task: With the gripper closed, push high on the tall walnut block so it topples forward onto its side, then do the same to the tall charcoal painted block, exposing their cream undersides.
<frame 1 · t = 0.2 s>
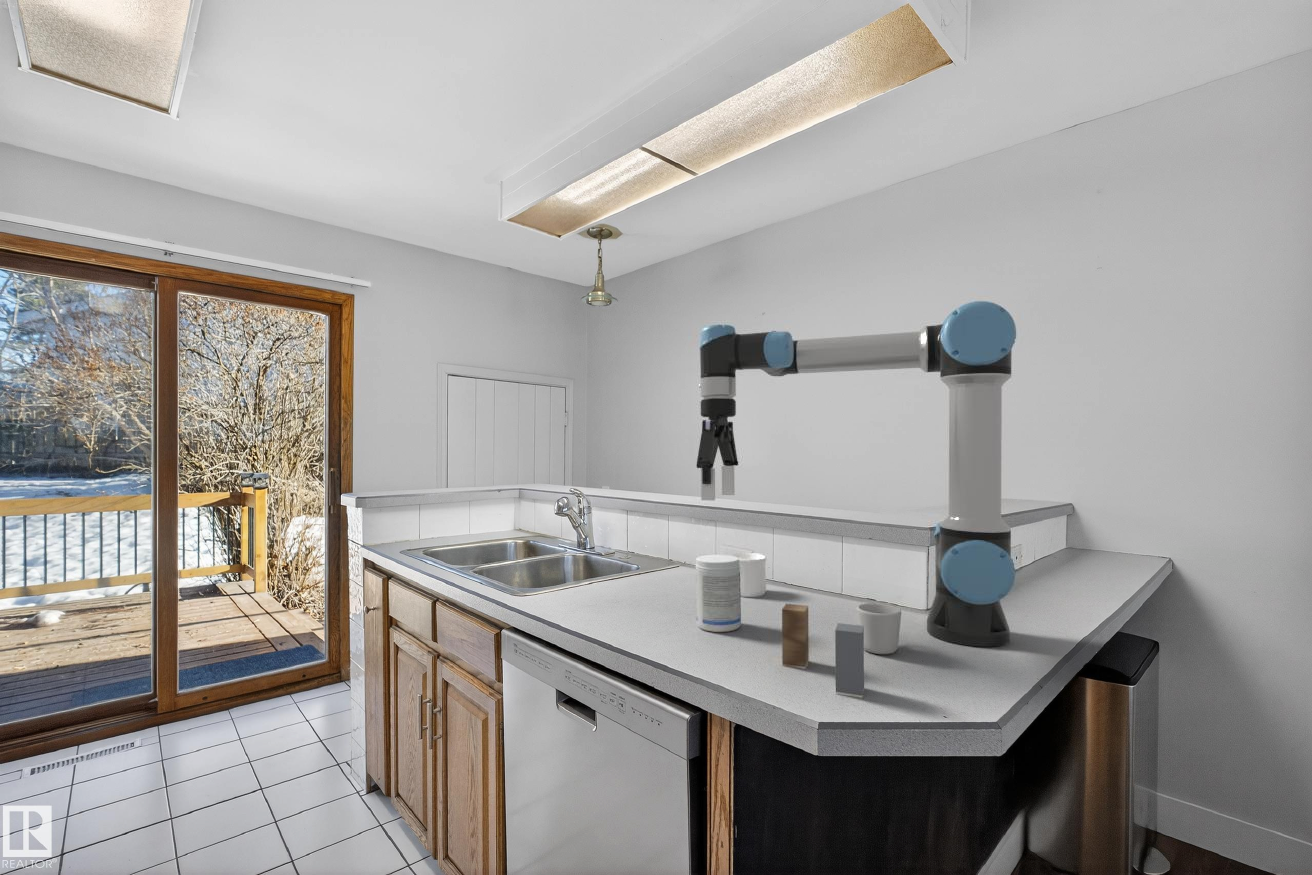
hand: (718, 497, 131), 28 cm above the worktop, fingers open, 13 cm apart
supplement tub: (718, 627, 131), on the worktop
charcoal block: (849, 690, 97), on the worktop
walnut block: (795, 663, 109), on the worktop
cup: (881, 649, 117), on the worktop
cup 2: (747, 593, 160), on the worktop
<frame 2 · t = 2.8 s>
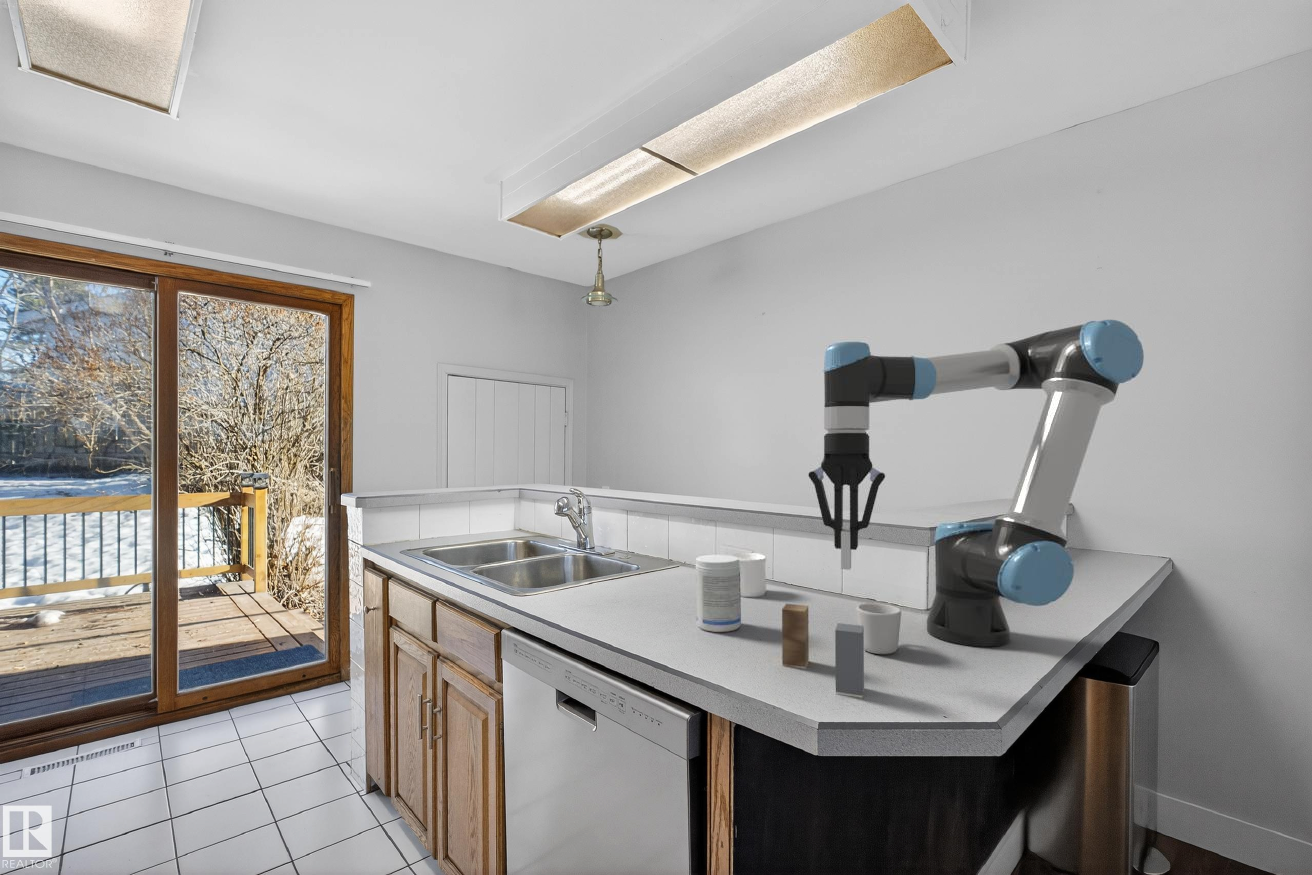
hand: (846, 567, 106), 18 cm above the worktop, fingers closed
nothing on the worktop moved.
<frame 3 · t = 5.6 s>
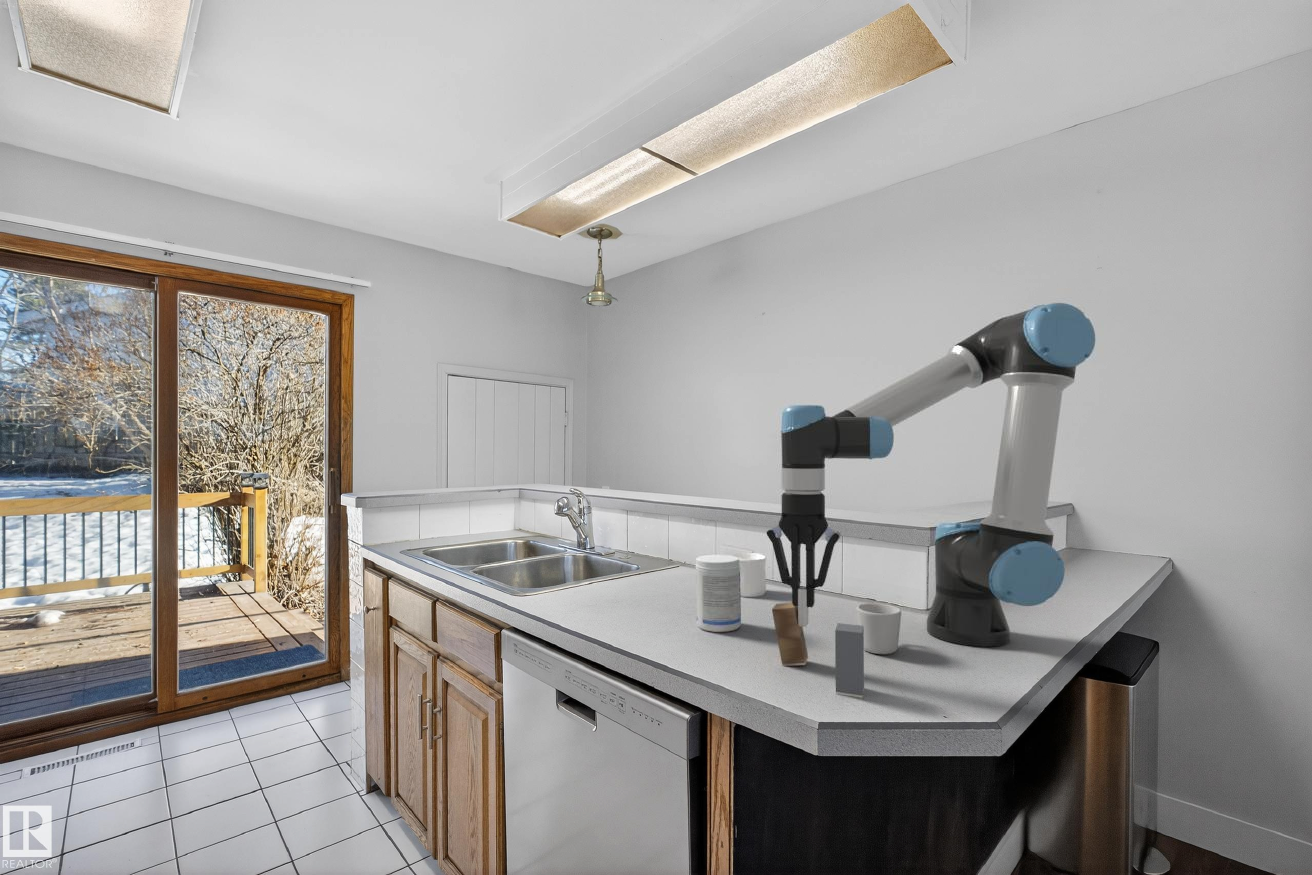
hand: (803, 624, 109), 7 cm above the worktop, fingers closed
walnut block: (795, 661, 109), on the worktop, tilted 11°, touching gripper
everything else where it was.
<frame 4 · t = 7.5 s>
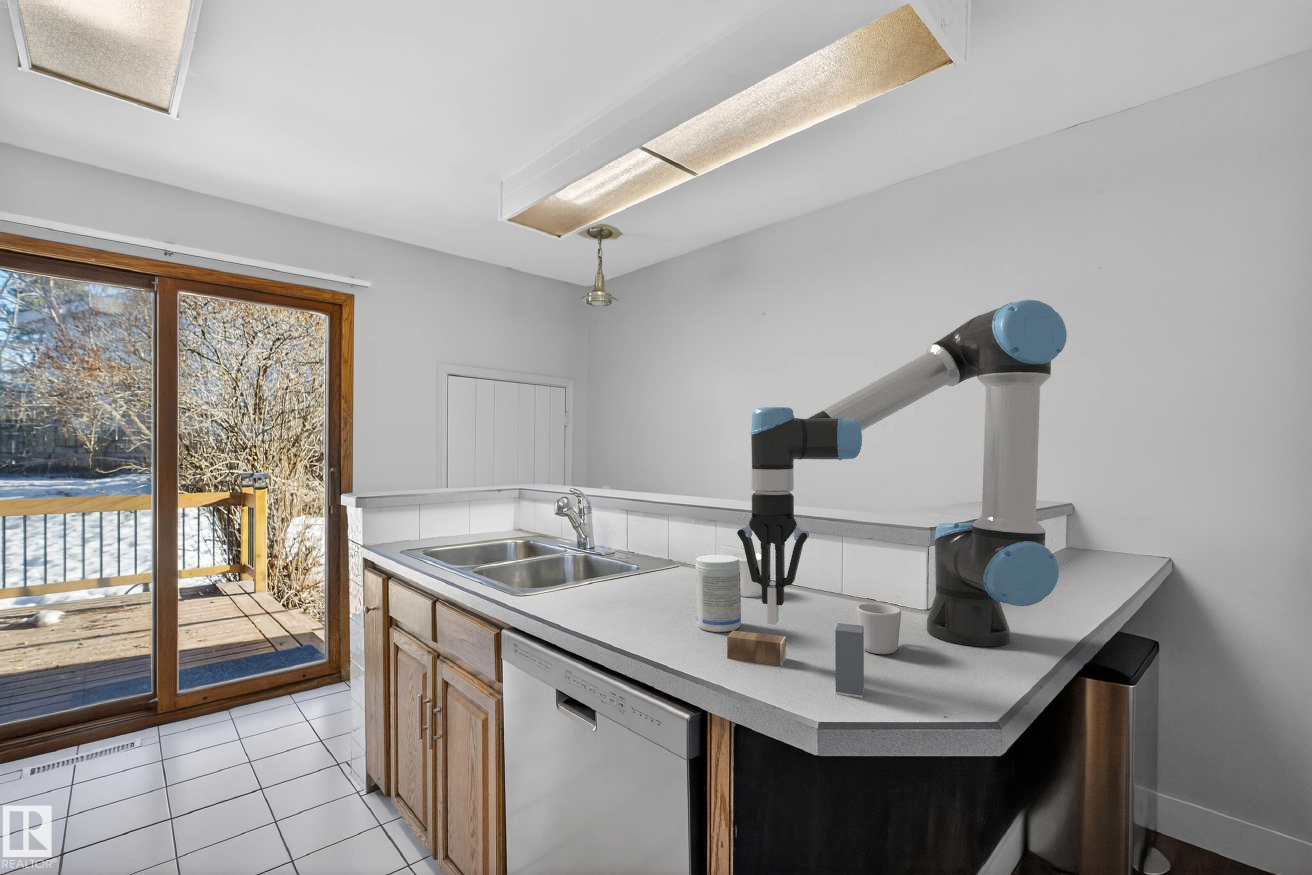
hand: (773, 622, 111), 7 cm above the worktop, fingers closed
walnut block: (784, 650, 110), point 2 cm above the worktop, tilted 90°
everything else where it was.
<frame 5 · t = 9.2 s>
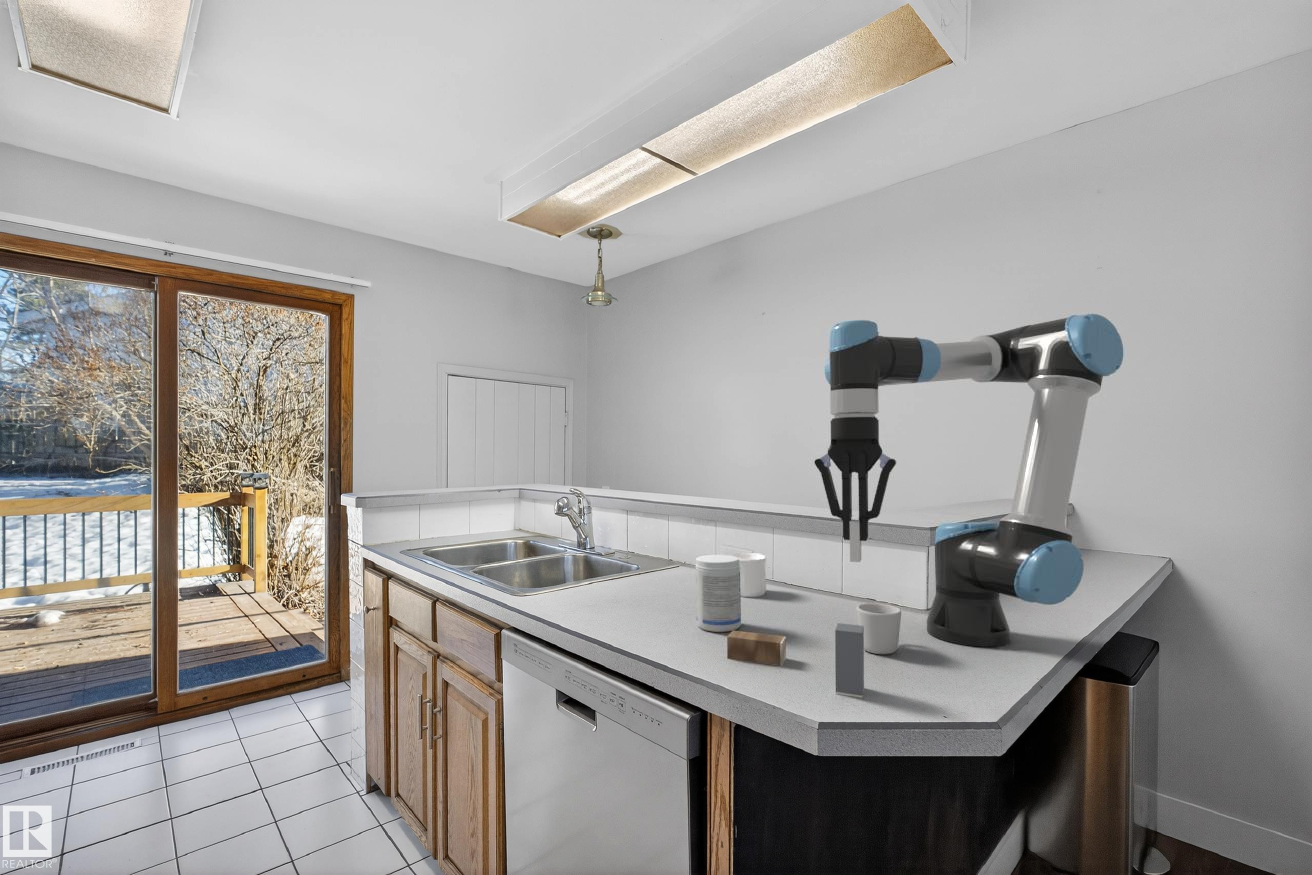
hand: (855, 560, 100), 20 cm above the worktop, fingers closed
nothing on the worktop moved.
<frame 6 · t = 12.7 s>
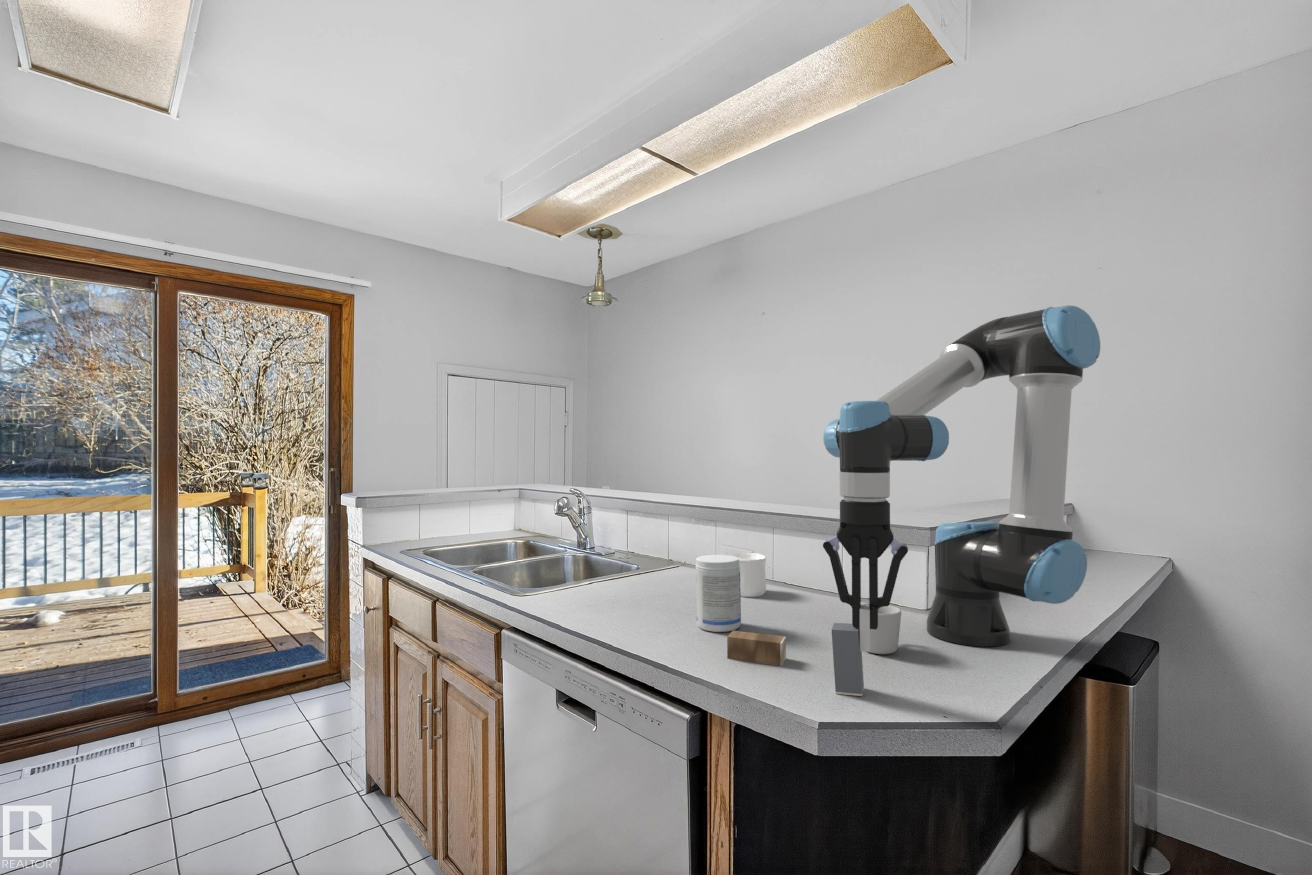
hand: (865, 648, 96), 7 cm above the worktop, fingers closed
charcoal block: (849, 689, 97), on the worktop, touching gripper
everything else where it was.
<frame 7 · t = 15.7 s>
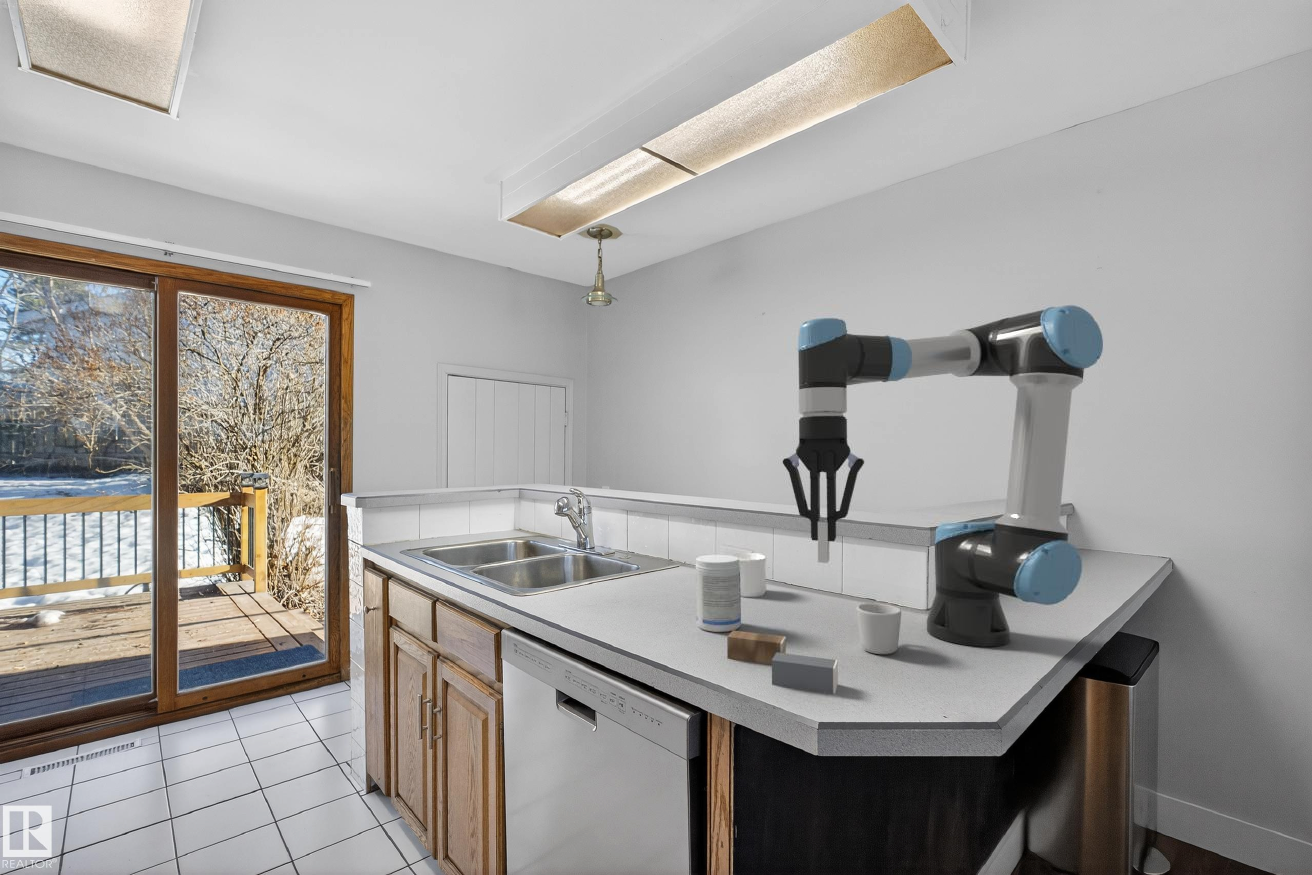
hand: (823, 560, 99), 20 cm above the worktop, fingers closed
charcoal block: (836, 676, 98), point 2 cm above the worktop, tilted 90°
everything else where it was.
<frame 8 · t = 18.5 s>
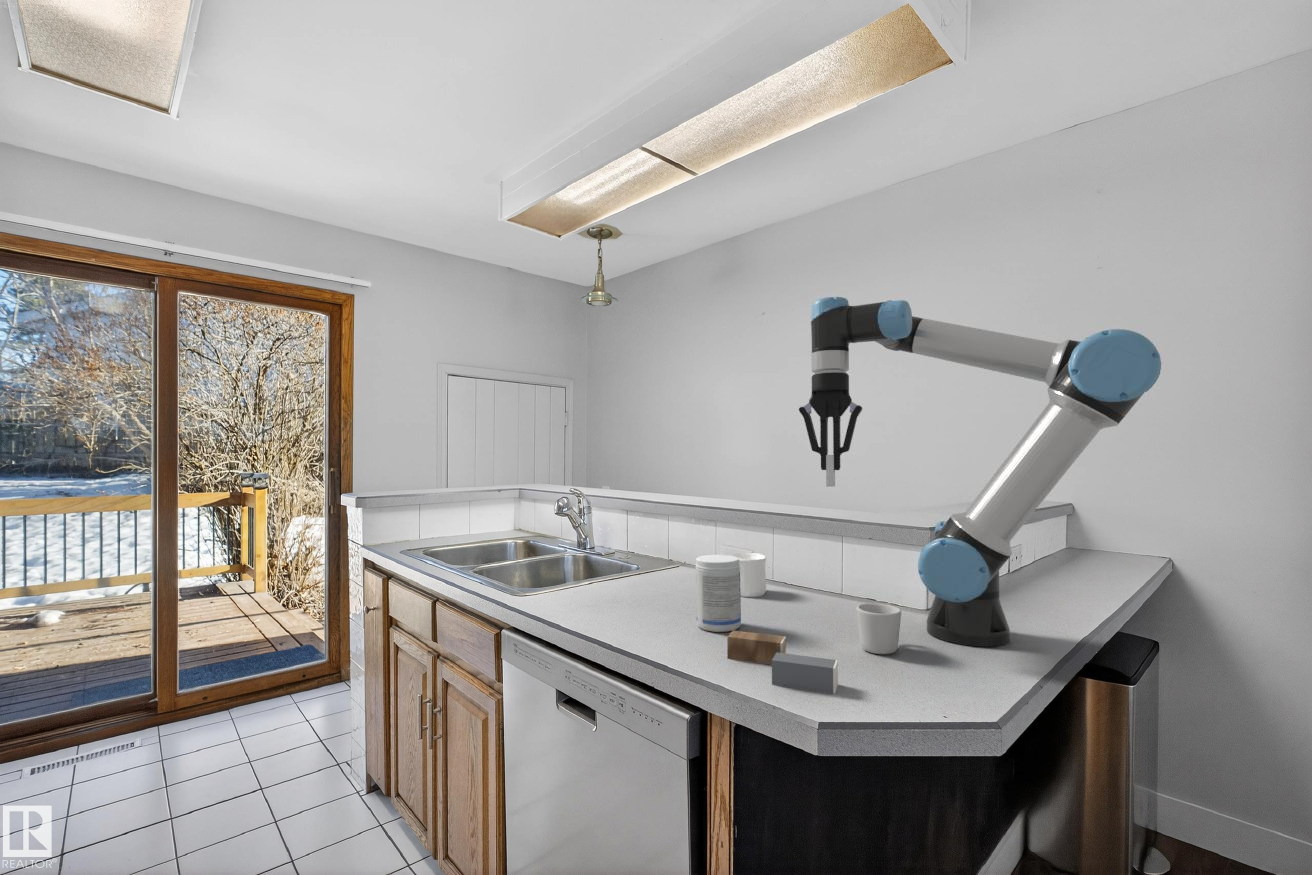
hand: (830, 486, 127), 30 cm above the worktop, fingers closed
nothing on the worktop moved.
at the end: walnut block tilted 90°; charcoal block tilted 90°; walnut block inside the target area (5.0 cm from its centre), point 1.9 cm above the worktop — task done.
